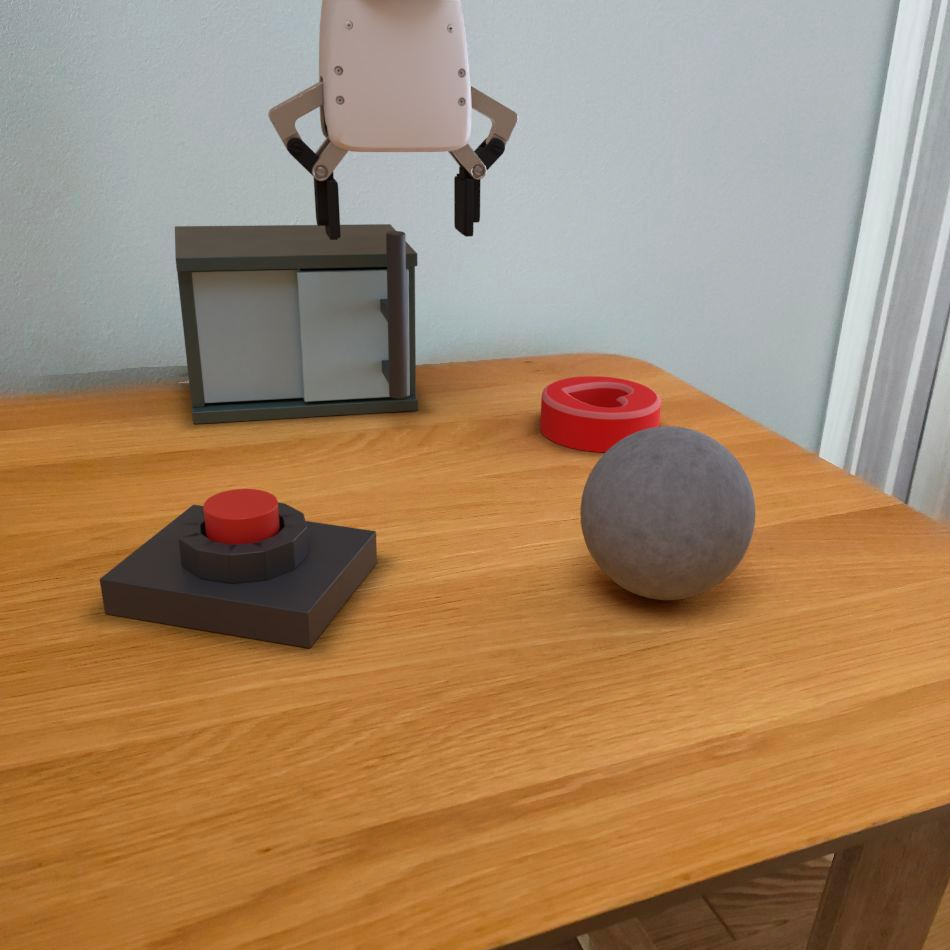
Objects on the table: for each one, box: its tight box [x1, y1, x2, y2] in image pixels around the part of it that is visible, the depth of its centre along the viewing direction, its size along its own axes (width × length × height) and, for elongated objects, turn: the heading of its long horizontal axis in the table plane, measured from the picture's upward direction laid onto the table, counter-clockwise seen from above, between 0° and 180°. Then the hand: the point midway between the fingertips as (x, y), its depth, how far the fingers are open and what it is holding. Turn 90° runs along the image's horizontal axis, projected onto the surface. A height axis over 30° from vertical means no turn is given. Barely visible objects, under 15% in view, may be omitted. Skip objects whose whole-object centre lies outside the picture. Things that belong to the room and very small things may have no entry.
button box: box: [99, 501, 378, 649], centre depth 60 cm, size 12×10×4 cm
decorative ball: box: [579, 425, 756, 601], centre depth 61 cm, size 10×10×10 cm
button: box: [202, 488, 280, 545], centre depth 59 cm, size 4×4×2 cm
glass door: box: [297, 230, 410, 402], centre depth 81 cm, size 9×6×14 cm
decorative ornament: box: [539, 375, 662, 453], centre depth 86 cm, size 10×10×3 cm
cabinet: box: [174, 223, 419, 425], centre depth 88 cm, size 18×12×13 cm, turn 107°
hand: (399, 234), depth 77 cm, fingers open, 9 cm apart
